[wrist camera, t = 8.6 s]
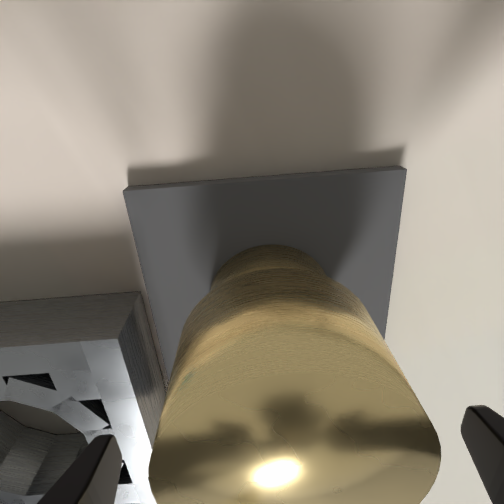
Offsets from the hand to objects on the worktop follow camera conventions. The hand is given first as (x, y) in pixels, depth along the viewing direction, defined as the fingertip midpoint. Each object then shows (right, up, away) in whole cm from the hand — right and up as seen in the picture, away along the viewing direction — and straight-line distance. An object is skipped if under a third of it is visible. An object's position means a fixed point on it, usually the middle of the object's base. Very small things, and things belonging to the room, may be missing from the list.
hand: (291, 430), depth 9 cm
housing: (-11, -2, +8) cm, 14 cm away
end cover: (0, +3, +5) cm, 6 cm away
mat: (0, +3, +6) cm, 7 cm away
